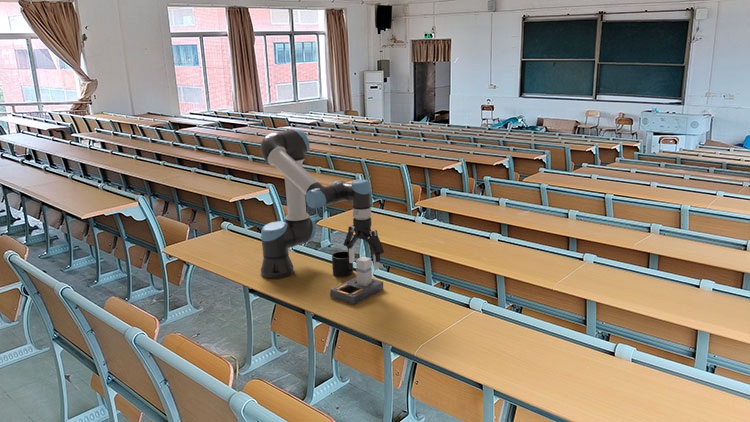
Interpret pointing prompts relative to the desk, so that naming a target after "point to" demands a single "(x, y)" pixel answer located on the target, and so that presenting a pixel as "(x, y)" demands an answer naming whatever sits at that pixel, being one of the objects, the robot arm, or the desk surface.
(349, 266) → the mug
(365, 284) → the plug
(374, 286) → the jack panel
